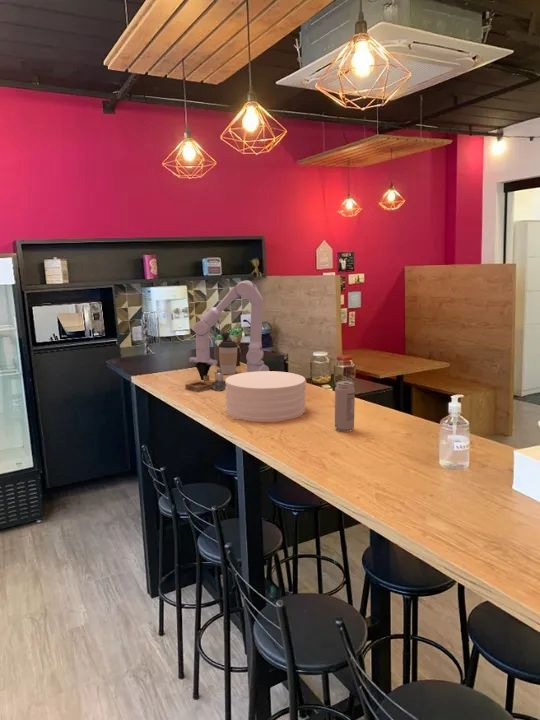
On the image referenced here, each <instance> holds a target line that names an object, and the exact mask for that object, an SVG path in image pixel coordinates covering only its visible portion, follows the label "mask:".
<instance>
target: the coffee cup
mask: <svg viewBox="0 0 540 720" xmlns="http://www.w3.org/2000/svg"><path fill="white" fill-rule="evenodd" d="M218 346H219V359H220V367H219V369H221V372H223V375H235V374H236V372H237V371H236V370H237V366H236V364H237V347H239V344H237V342H236V341H233V340H231V341H230V340H226V341H223V340H222V341H220V343H219V344H218Z"/></svg>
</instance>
